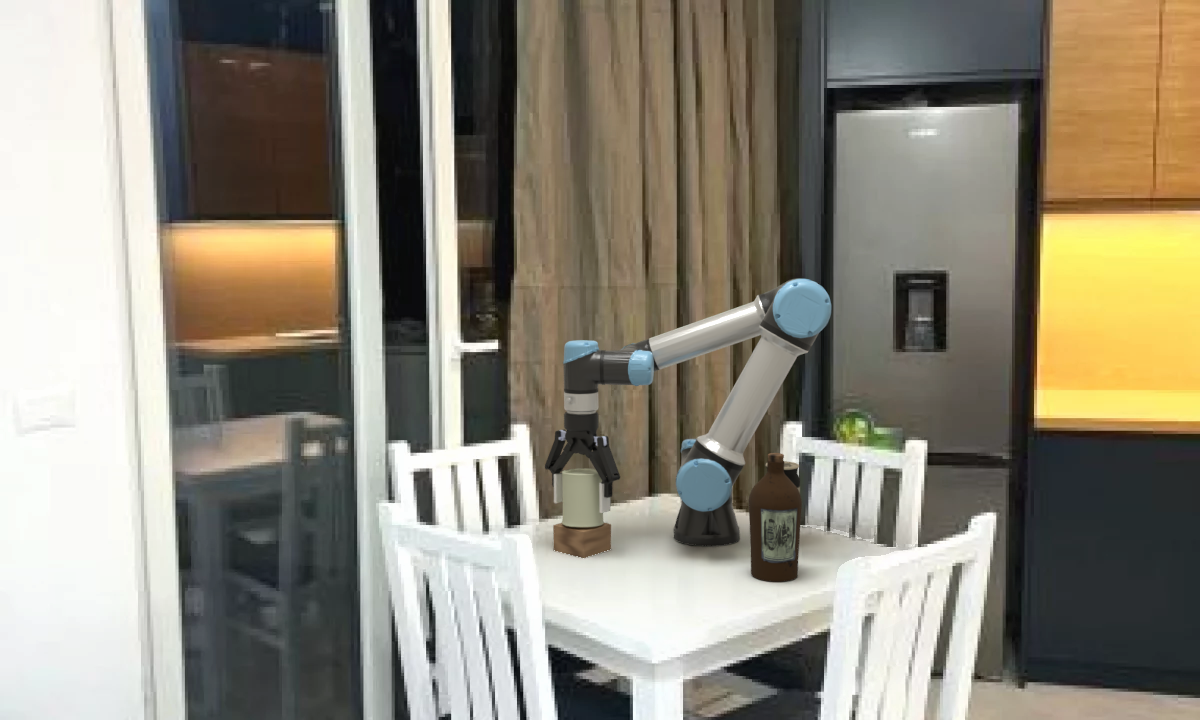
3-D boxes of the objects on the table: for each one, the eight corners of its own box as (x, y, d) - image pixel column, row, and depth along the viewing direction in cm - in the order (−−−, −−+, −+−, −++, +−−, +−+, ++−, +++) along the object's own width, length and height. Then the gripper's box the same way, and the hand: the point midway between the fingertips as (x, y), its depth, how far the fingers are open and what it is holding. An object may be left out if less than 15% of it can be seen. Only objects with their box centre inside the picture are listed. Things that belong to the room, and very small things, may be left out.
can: (560, 519, 240) (560, 466, 240) (601, 518, 241) (601, 465, 241) (563, 528, 231) (563, 472, 231) (606, 527, 232) (605, 471, 232)
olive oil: (743, 567, 223) (744, 449, 221) (794, 567, 224) (796, 449, 221) (753, 583, 213) (754, 459, 210) (806, 582, 213) (808, 459, 211)
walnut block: (611, 550, 237) (611, 524, 237) (583, 559, 231) (583, 532, 230) (581, 543, 243) (581, 517, 243) (553, 551, 237) (553, 525, 236)
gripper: (528, 407, 239) (529, 501, 241) (613, 419, 223) (613, 519, 225) (552, 404, 245) (552, 495, 247) (636, 415, 228) (636, 512, 231)
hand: (581, 507), depth 236 cm, fingers open, 13 cm apart
